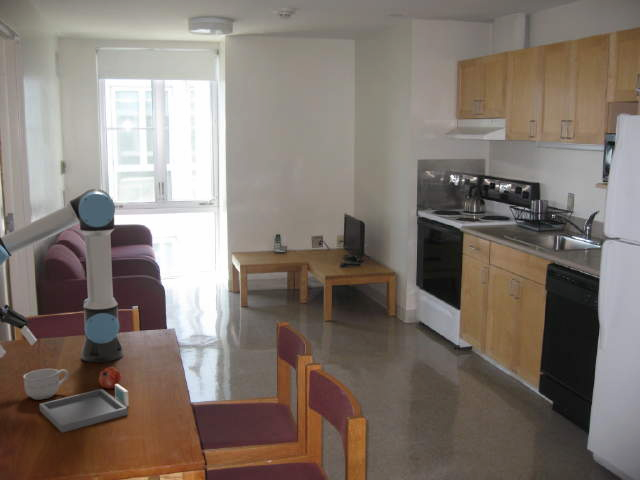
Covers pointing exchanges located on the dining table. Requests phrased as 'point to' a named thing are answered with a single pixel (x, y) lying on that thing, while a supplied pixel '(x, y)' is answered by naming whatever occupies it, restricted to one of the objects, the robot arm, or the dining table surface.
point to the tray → (82, 410)
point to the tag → (121, 395)
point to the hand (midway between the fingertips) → (19, 348)
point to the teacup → (43, 382)
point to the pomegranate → (109, 377)
